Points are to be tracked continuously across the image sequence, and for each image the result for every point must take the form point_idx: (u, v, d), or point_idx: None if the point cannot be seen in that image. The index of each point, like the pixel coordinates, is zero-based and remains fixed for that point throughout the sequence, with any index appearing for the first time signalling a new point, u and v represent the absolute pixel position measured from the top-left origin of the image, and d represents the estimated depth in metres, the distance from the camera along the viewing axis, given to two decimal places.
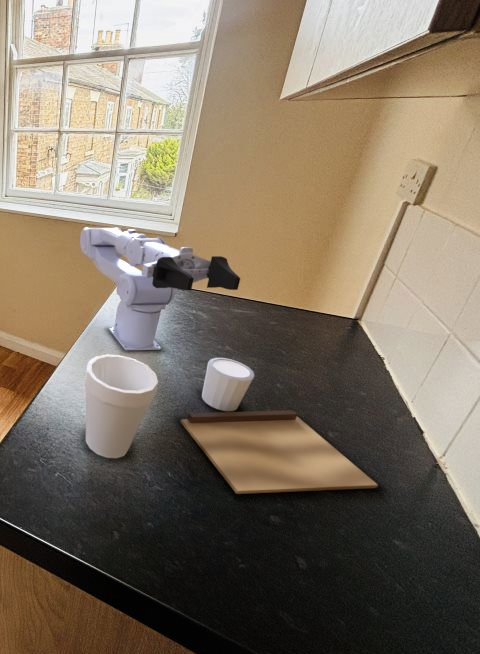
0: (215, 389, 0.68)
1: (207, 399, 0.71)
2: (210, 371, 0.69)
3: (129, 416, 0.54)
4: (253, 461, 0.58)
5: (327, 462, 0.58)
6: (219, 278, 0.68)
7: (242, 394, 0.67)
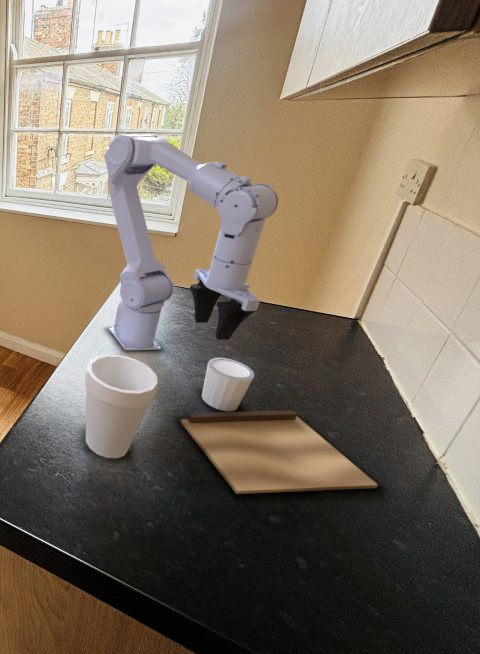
0: (215, 389, 0.68)
1: (207, 399, 0.71)
2: (210, 371, 0.69)
3: (129, 416, 0.54)
4: (253, 461, 0.58)
5: (327, 462, 0.58)
6: (205, 303, 0.75)
7: (242, 394, 0.67)
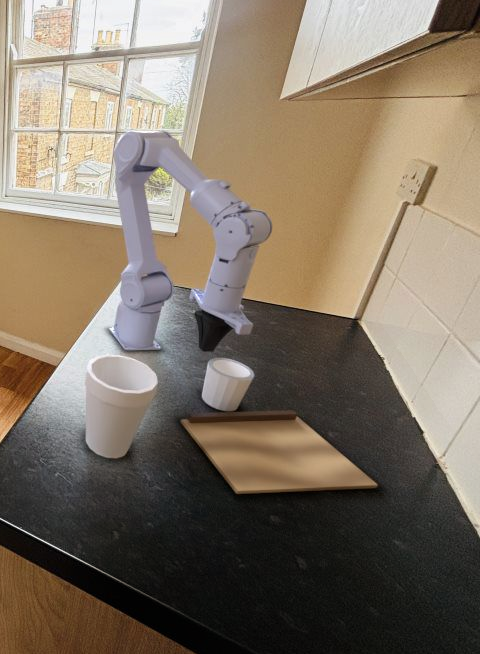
0: (215, 389, 0.68)
1: (207, 399, 0.71)
2: (210, 371, 0.69)
3: (129, 416, 0.54)
4: (253, 461, 0.58)
5: (327, 462, 0.58)
6: None
7: (242, 394, 0.67)
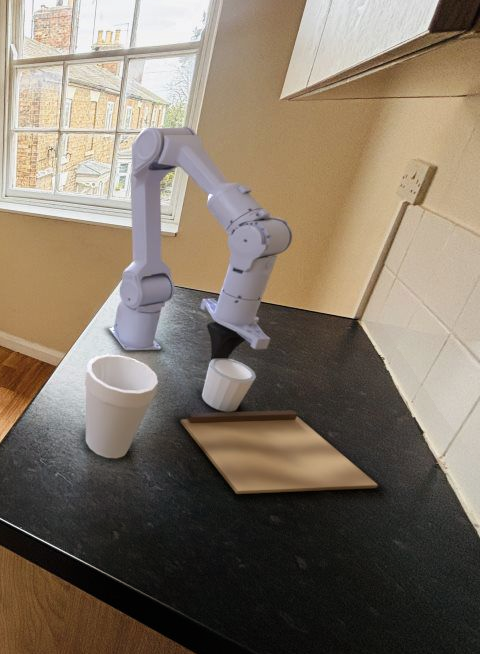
0: (216, 390, 0.68)
1: (207, 399, 0.70)
2: (211, 372, 0.69)
3: (129, 416, 0.54)
4: (253, 461, 0.58)
5: (327, 462, 0.58)
6: (223, 343, 0.70)
7: (243, 395, 0.67)
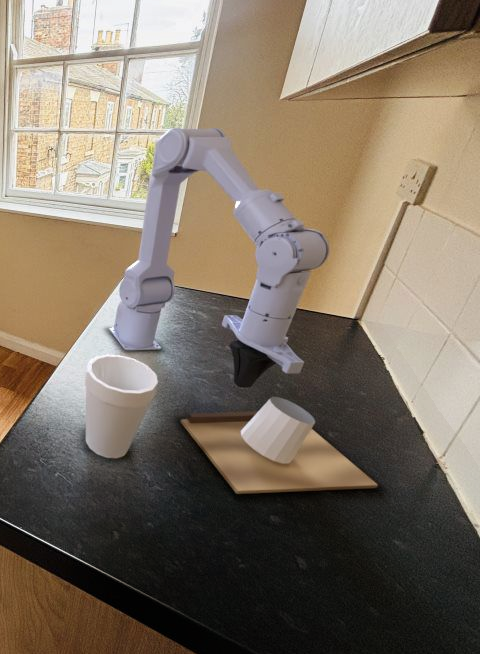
0: None
1: (266, 402, 0.59)
2: (243, 430, 0.61)
3: (129, 416, 0.54)
4: (253, 461, 0.58)
5: (327, 462, 0.58)
6: None
7: None
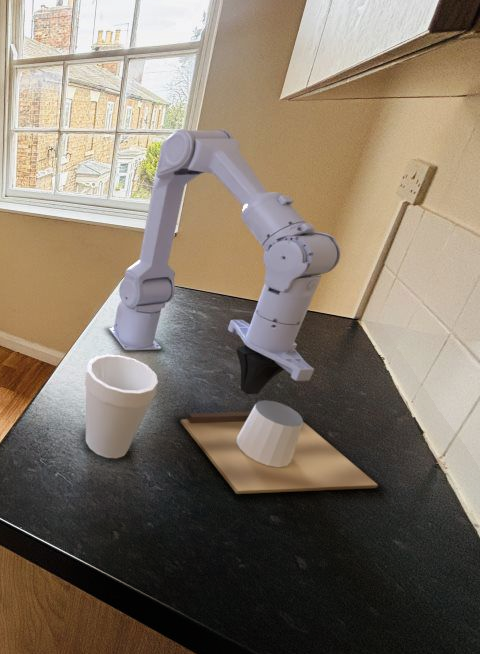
0: None
1: None
2: (238, 437, 0.62)
3: (129, 416, 0.54)
4: (253, 461, 0.58)
5: (327, 462, 0.58)
6: None
7: None
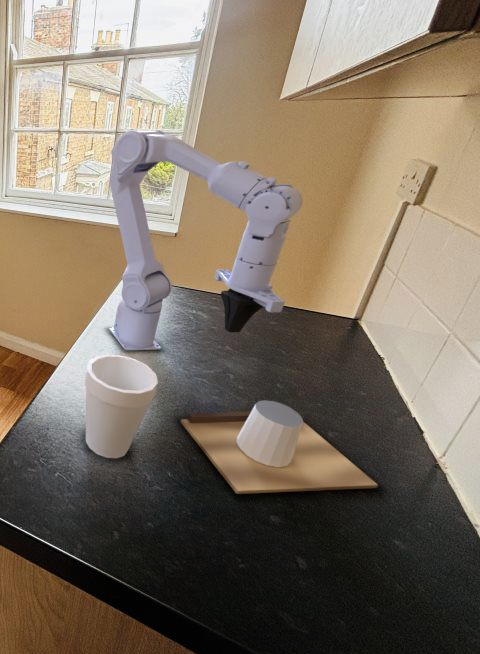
0: None
1: None
2: (238, 437, 0.62)
3: (129, 416, 0.54)
4: (253, 461, 0.58)
5: (327, 462, 0.58)
6: None
7: None
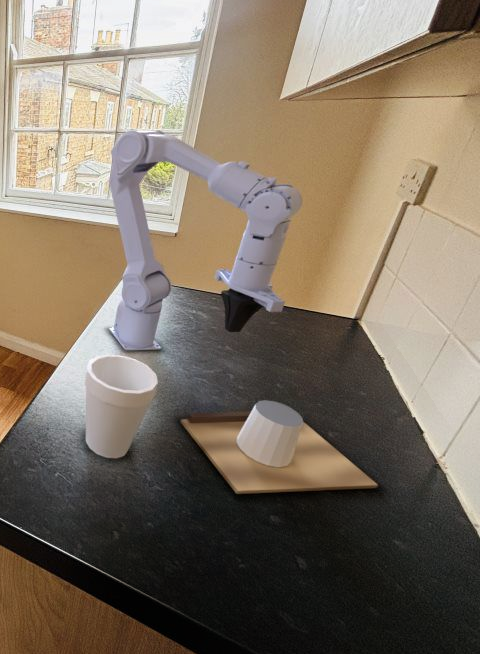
0: None
1: (254, 407, 0.60)
2: (238, 437, 0.62)
3: (129, 416, 0.54)
4: (253, 461, 0.58)
5: (327, 462, 0.58)
6: None
7: None
